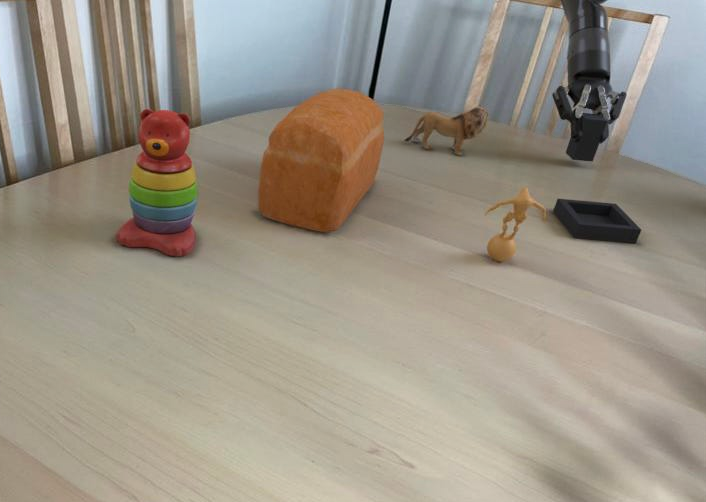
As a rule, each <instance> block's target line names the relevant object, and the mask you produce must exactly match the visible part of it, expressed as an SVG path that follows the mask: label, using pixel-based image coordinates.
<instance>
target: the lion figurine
mask: <svg viewBox="0 0 706 502" xmlns="http://www.w3.org/2000/svg"><path fill="white" fill-rule="evenodd" d="M489 113H490V112H489V111H487V109H486V108H484V107H482V106H475V107H473V108H471V109H470V110H469V111H466V112H462V113H460V114H458V115H456V116H453V117H449V116H445V115H443V114H440V113H438V112H435V111H428V112H426V113H424V114H422V116H421V117H420V118H419V119H418V120H417V123H416V124H415V126H414V129H413V131H412V133H411V134H410V135H409V136H408V137H406V138H405V139H404V140H403V141H404V142H409V141H411V140H412V141H413V142H414V143H420V141H422V144H423V148H424V149H425V150H427V151H428V150H431V145H429V144H428V139H429V137H430V136H431V135H432V133H433V131H434V130H435V131H436V132H437V134H438V135H439V134H440V135H441V136H443V137H446V138H453V143H452V151H454V154H455V155H456V156H462V155H463V153H462V152H461V147H462V146H463V143H464V141H465V140H472V139H473V138H475V137H476V136H477V135H479V134H480V133H482V132H483V131H484V129H485V128H486V127H487V124H488V121H489V120H488V118H489ZM421 124H422V125H421ZM421 134H423V136H422V138H421V139H420V138H418V137H419V136H420V135H421Z"/></svg>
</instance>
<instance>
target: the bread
mask: <svg viewBox="0 0 706 502" xmlns="http://www.w3.org/2000/svg"><path fill="white" fill-rule="evenodd" d="M384 117H385V116H384V112H383V110H382V109H381V108H380V107H379V105H378V104H377V103H376V102H375V100H374V99H373V98H371V97H369V96H368V95H365V94H364V93H362V92H361V91H358V90H354V89H344V88H332V89H329V90H324V91H321V92H318V93H316V94H314V95H313V96H311V97H309V98H307V99H306V100H304V101H302V102H301V103H299V104H298V105H297V106H295V107H294V108H293V109H291V111H290V112H289V113H288V114H287V115H286V116H285V117H283V118H282V119H281V120H280V121H279V122H278V123H277V124H276V125H275V126H274V128H273V130H272V131H271V133H270V135H269V137H268V146H267V147H266V149H265V150H264V151H263V156H262V160H261V164H260V170H259V171H260V172H259V181H258V189H257V193H258V195H257V196H258V197H257V199H258V200H257V201H258V202H257V203H258V205H257V207H258V211H259V213H260V214H261V216H262V217H264V218H266V219H269V220H273V221H275V222H279V223H283V224H287V225H290V226H294V227H299V228H302V229H307V230H311V231H312V230H313V231H316V232H321V233H326V232H332V231H336V230H338V228H339V227H341V225H343V224H344V223H345V221H346V220H347V218H348V217H350V214H352V212H353V211H354V209H355V208H356V206H357V205H358V204H359V203H360V201H361V200H362V199H363V197H365V195H366V193H367V192H369V190H370V189H371V187H372V185H373V184H374V183H375V180H376V177H377V174H378V172H379V171H378V170H379V166H380V162H381V158H382V157H381V156H382V152H383V147H384V144H385V143H384V142H385V132H384V127H383V123H384Z"/></svg>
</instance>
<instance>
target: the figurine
mask: <svg viewBox="0 0 706 502" xmlns="http://www.w3.org/2000/svg"><path fill="white" fill-rule="evenodd" d="M511 204H513V212H512V211H510V210H509V211H507V213H506V215H505V216H504V217H503V218H502V227H501V229H502V232H501V233H498V234H495V235H493V236H492V237H491V238H490V239H489V241H488V243H487V245H486V250H487V254H488V256H489V257H490V258H491V259H492V260H494V261H496V262H508V261H509V260H511V259H512V258H513V257H514V255H515V254H516V252H517V243H516V240H515V237H516V235H517V233H518V232H519V230H520V226H519V225H520V224H522V223H524V222H525V220H527V217H528V214H527V213H526V212H527V211H528V210H529V209H530V208H531V207H534V208H537V209H538V210H541V216H542V217H540V219H541V220H540V221H541V222H542V223H543V224H545V222H546V219H547V213H546V211H547V210H546V209H547V208H545V206H544V205H543V204H541V203H539V202H538V201H536V199H534V198H532V196H531V195H530V191H529V189H528V187H522V189H521V190H520V192H519V194H518V195H517V196H515V197H512V198H510V199H509V198H508V199H505V200H502V201H499V202H497V203H496V204H495V205H493V206H491V207H490V208H488V209H487V211H485V213H484V216H486V215H488V213H490V212H493V211H495V210H496V209H497V208H499V207H500V206H506V205H511ZM513 220H514V221H515V224H514V227H513V232H512V233H511V234H507V231H508V224H507V223H510V222H512V221H513Z"/></svg>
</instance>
